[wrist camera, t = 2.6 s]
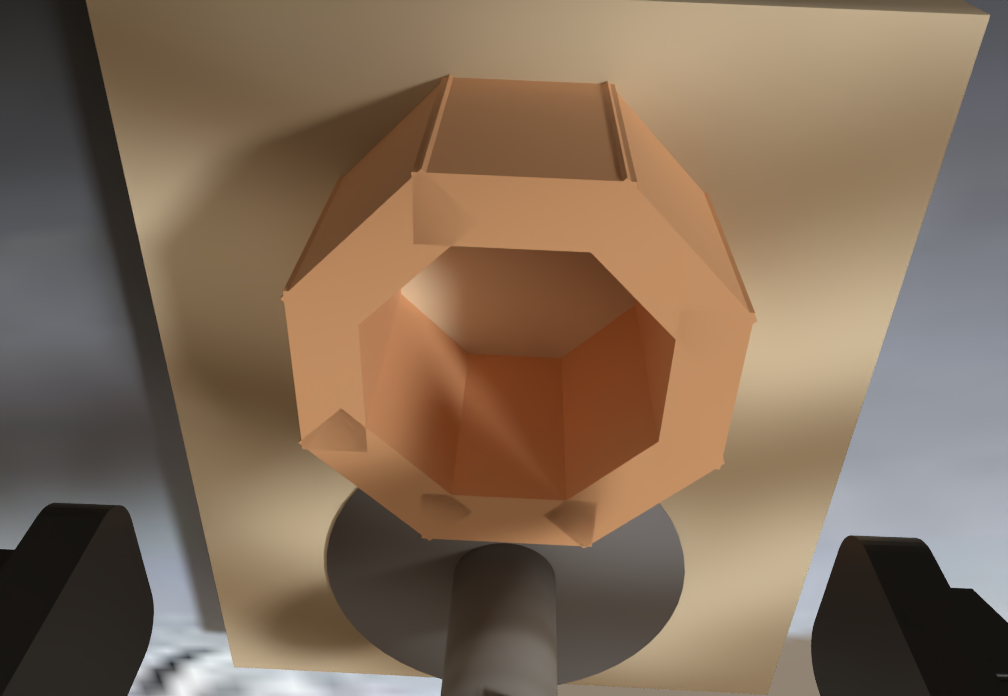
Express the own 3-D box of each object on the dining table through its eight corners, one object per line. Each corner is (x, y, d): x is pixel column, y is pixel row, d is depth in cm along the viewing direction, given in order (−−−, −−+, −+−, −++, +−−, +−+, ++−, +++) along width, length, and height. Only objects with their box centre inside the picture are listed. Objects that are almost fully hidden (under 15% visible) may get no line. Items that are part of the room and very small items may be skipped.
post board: (119, -41, 15) (-205, 106, 8) (951, -6, 15) (1273, 171, 8) (250, 625, 24) (146, 932, 18) (754, 650, 24) (831, 970, 18)
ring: (328, 68, 14) (262, 160, 11) (729, 86, 14) (788, 184, 11) (353, 391, 18) (310, 534, 14) (673, 406, 18) (704, 554, 14)
